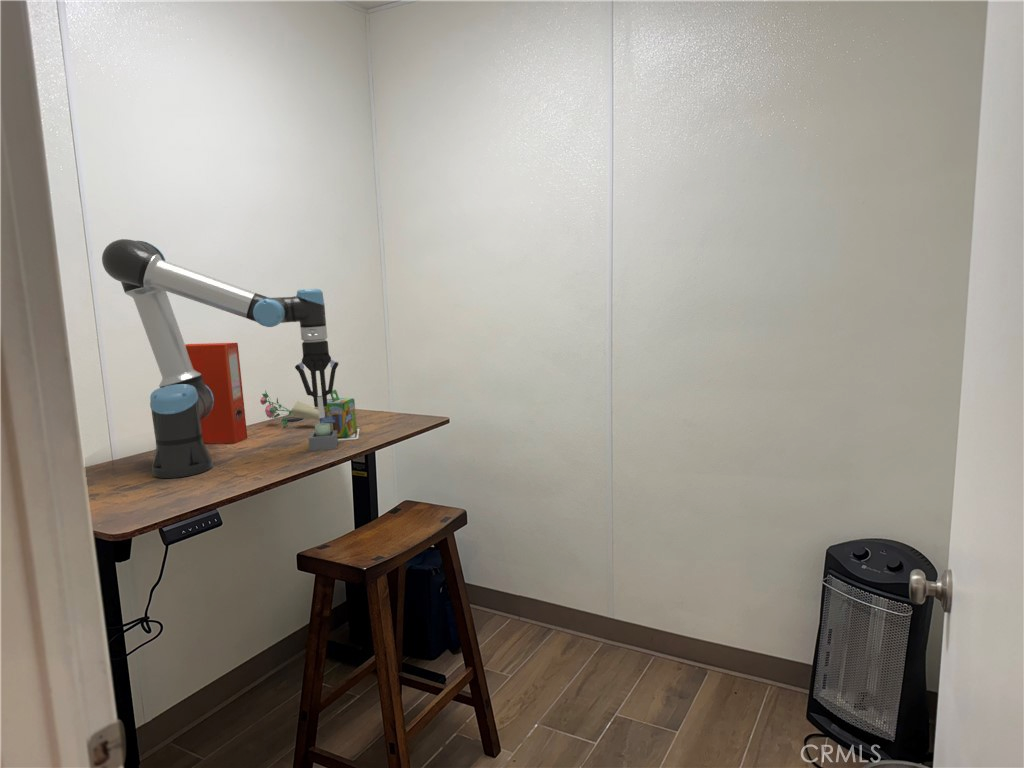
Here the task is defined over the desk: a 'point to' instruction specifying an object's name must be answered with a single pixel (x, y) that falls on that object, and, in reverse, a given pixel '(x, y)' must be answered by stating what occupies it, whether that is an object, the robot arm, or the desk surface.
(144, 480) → the desk surface
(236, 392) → the file binder
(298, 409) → the flower vase
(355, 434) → the white bordered panel
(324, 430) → the button
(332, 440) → the button housing
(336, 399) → the chalk box
